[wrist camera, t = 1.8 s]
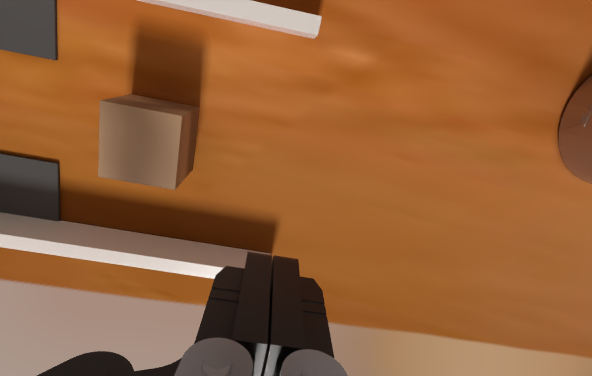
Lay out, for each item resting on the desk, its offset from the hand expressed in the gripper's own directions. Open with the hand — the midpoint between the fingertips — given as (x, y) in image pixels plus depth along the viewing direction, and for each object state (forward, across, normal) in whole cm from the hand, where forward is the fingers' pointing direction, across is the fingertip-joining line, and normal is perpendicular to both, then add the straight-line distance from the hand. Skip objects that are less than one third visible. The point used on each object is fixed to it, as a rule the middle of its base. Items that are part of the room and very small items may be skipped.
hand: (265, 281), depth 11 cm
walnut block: (+16, +8, 0) cm, 18 cm away
